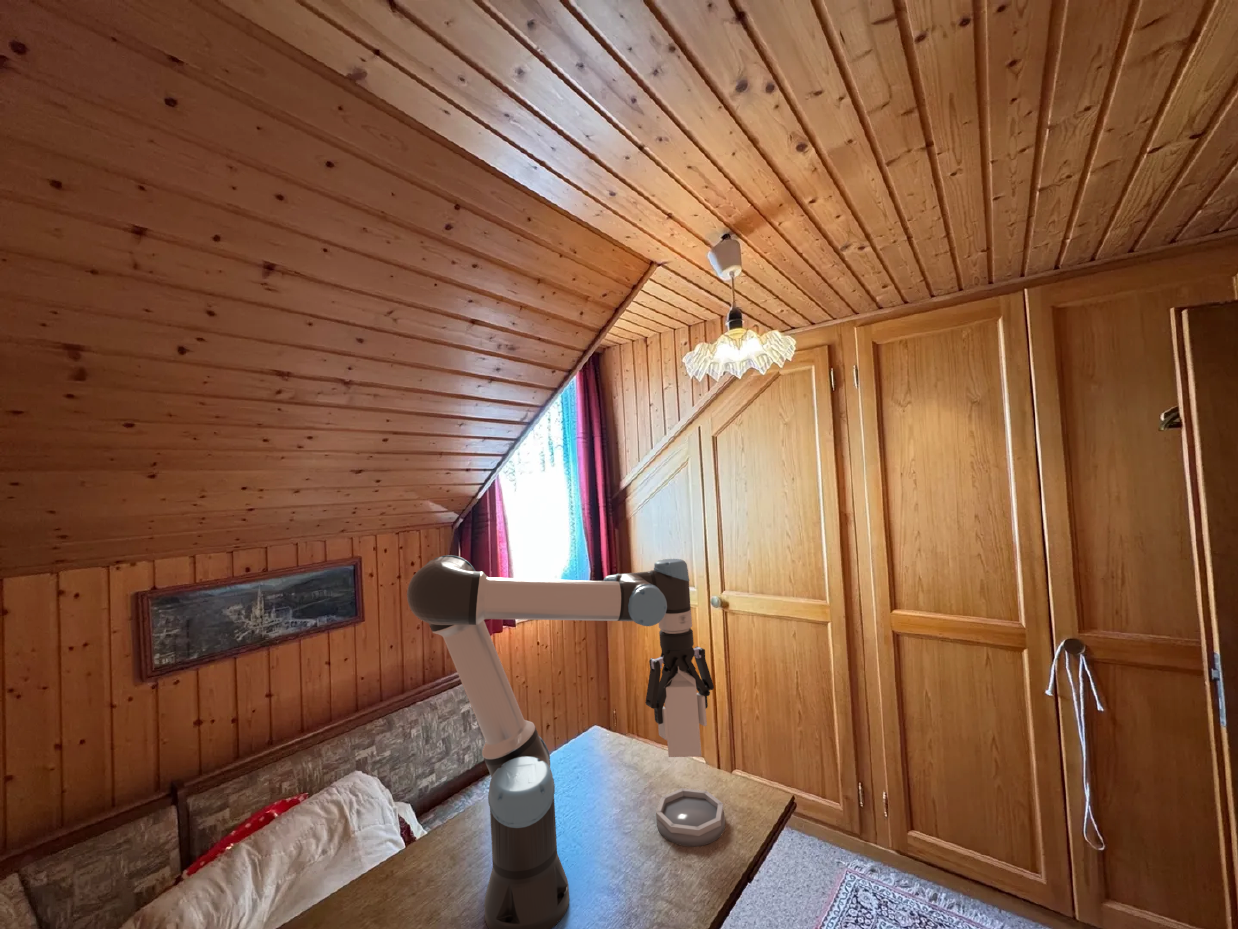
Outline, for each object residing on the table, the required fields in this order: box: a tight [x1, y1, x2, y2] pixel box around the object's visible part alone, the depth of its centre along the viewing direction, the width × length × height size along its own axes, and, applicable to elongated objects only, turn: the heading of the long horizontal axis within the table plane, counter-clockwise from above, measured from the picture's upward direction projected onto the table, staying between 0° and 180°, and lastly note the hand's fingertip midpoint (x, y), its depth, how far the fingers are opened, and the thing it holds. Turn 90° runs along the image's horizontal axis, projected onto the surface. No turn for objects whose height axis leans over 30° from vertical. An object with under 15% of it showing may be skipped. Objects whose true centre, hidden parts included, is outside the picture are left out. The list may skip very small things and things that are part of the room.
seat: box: [655, 787, 726, 847], centre depth 113 cm, size 15×15×3 cm
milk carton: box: [664, 666, 702, 758], centre depth 114 cm, size 7×7×19 cm
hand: (683, 730), depth 114 cm, fingers closed on milk carton, 10 cm apart
